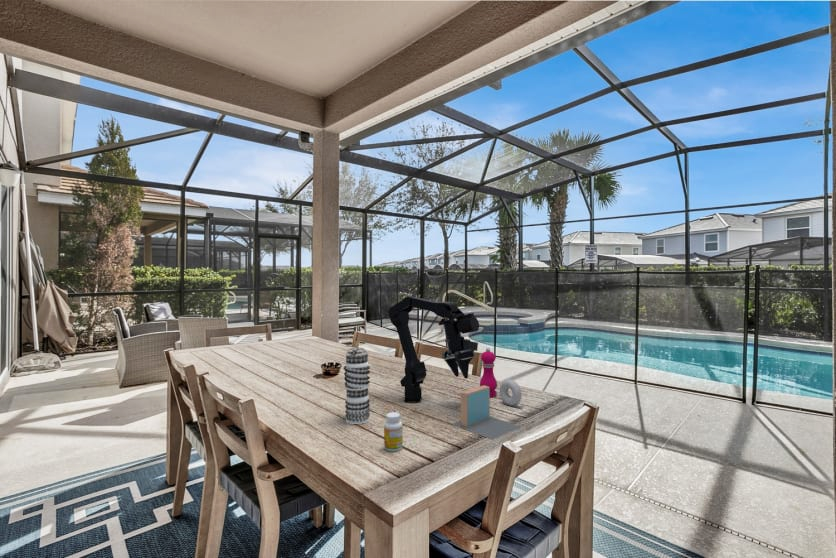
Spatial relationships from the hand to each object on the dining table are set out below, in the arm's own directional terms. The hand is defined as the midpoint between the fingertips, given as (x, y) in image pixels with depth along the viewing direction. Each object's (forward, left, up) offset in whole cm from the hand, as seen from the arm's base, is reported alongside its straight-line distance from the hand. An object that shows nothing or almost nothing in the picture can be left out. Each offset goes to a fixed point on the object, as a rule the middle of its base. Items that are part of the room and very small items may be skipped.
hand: (461, 377), depth 140 cm
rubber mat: (+6, -14, -13) cm, 20 cm away
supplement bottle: (-24, -28, -13) cm, 39 cm away
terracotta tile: (+3, -10, -12) cm, 17 cm away
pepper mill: (+13, +20, -13) cm, 27 cm away
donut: (+19, +7, -13) cm, 24 cm away
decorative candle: (-38, -6, -13) cm, 40 cm away
